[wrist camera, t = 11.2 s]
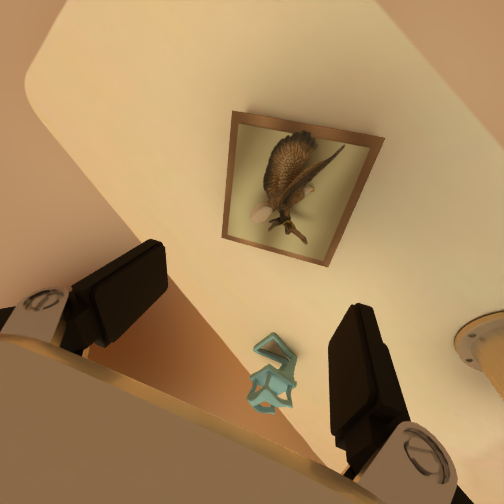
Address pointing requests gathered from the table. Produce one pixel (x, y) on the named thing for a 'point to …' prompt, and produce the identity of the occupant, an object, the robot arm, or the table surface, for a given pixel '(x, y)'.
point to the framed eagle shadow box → (325, 184)
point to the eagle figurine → (288, 180)
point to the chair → (273, 379)
